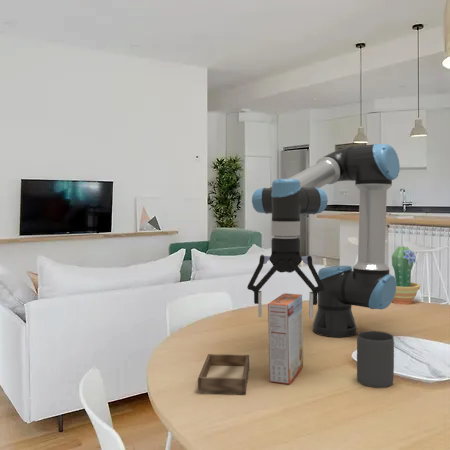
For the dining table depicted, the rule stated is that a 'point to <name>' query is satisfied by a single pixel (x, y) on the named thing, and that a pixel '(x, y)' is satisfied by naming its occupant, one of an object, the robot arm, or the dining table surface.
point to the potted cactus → (404, 275)
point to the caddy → (224, 374)
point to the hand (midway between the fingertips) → (285, 316)
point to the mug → (375, 359)
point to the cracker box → (285, 338)
